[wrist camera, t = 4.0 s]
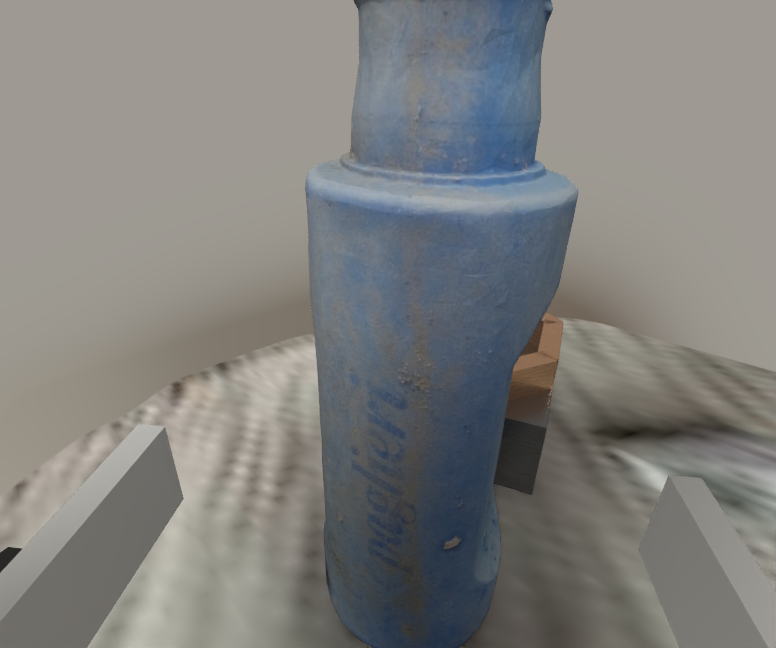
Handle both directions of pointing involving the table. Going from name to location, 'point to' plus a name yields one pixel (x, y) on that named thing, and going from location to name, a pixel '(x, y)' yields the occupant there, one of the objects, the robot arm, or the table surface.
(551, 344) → the copper and grey block
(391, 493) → the bottle
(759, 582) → the robot arm
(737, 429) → the table surface
